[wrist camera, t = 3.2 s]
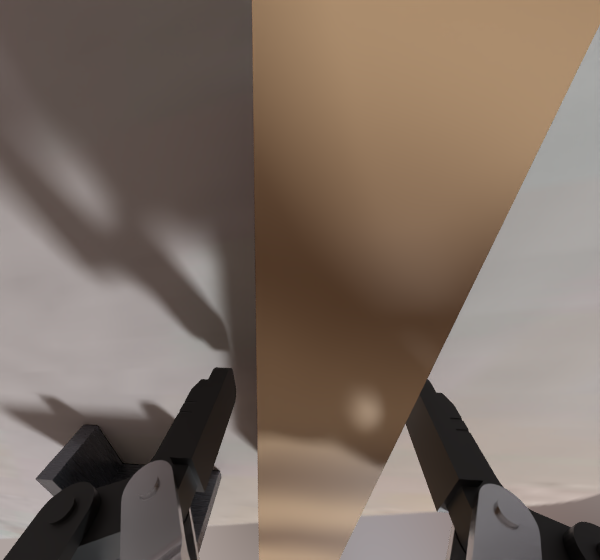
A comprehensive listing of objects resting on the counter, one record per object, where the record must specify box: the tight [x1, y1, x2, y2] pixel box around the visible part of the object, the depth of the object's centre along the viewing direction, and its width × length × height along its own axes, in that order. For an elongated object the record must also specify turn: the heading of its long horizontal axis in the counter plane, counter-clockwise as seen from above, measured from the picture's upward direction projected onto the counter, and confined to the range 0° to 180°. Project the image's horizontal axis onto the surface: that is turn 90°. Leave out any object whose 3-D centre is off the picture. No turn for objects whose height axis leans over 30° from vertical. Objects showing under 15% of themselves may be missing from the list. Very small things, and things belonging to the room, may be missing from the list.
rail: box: [252, 0, 600, 560], centre depth 10 cm, size 22×4×5 cm, turn 175°
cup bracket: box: [36, 425, 221, 560], centre depth 14 cm, size 6×10×7 cm, turn 89°
